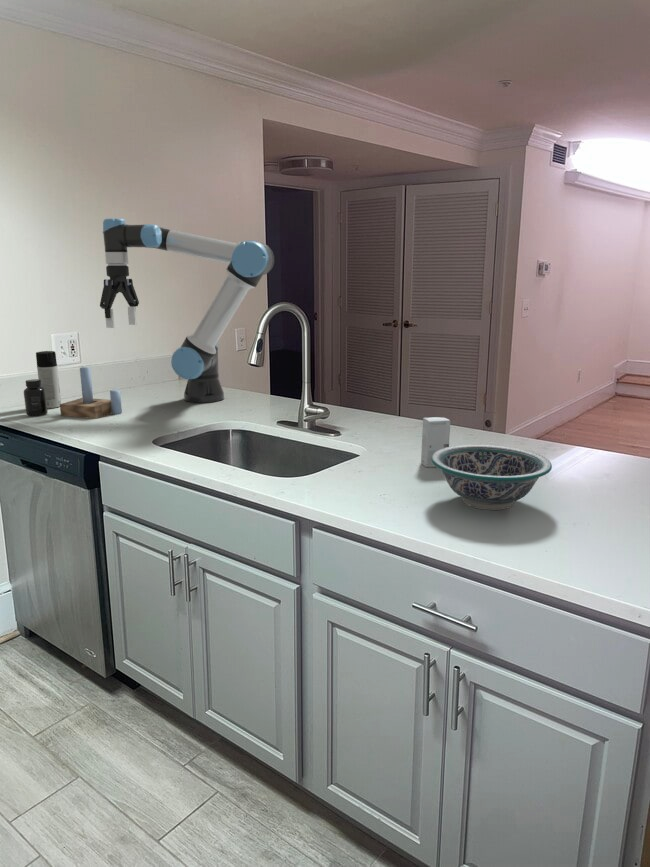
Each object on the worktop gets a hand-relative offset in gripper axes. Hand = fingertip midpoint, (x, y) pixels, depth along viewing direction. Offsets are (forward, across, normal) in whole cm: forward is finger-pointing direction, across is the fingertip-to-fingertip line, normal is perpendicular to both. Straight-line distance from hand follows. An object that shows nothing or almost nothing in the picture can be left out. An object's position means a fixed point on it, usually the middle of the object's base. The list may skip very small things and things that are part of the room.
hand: (121, 326), depth 234 cm
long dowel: (+29, +17, -4) cm, 34 cm away
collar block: (+29, +17, -4) cm, 34 cm away
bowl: (+29, +65, +134) cm, 152 cm away
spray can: (+29, +12, -24) cm, 39 cm away
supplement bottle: (+29, +24, -20) cm, 43 cm away
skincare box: (+29, +41, +119) cm, 129 cm away
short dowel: (+29, +14, +5) cm, 32 cm away
